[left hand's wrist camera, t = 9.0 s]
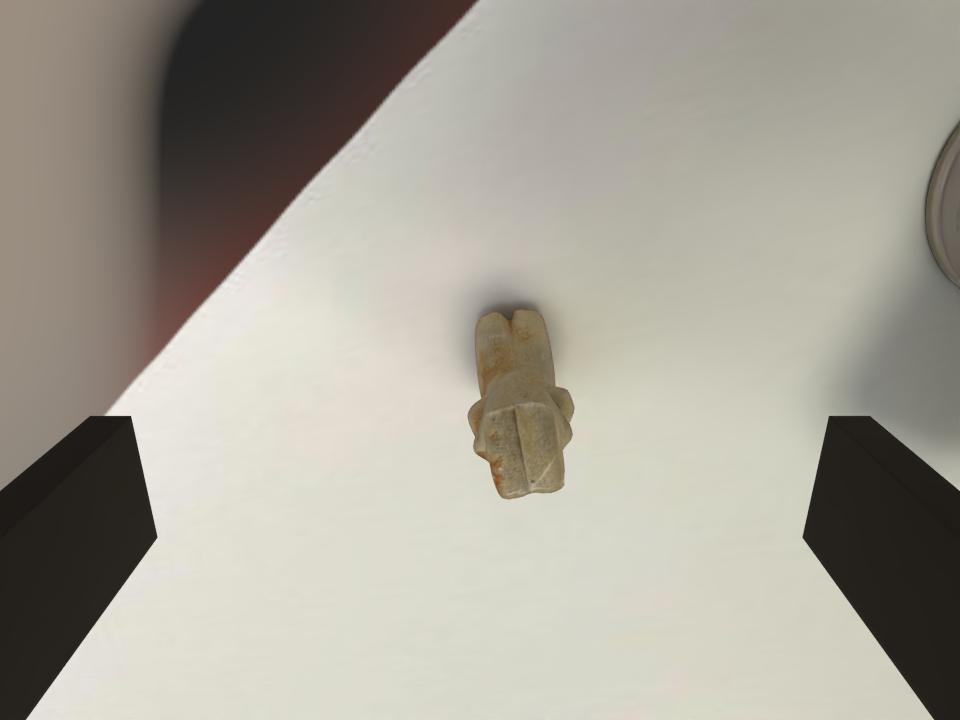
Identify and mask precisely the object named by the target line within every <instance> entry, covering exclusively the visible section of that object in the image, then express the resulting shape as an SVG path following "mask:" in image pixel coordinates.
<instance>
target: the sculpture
mask: <svg viewBox="0 0 960 720" xmlns="http://www.w3.org/2000/svg"><path fill="white" fill-rule="evenodd" d="M475 350H476V364H477V375H478V381H479V388H480V394H481V398H482V399H480V400H479V401H477V402H476V403H475V404H474V405H473V406H472V407H471V408H470V410H469V412H468V420H469V424H470V427H471V429H472V432H473V433H474V435H475V439H474V445H473V447H474V451H475V453H476V454H477V455H479V456H480V457H482V458H484V459H485V460H487V461H488V462H489V463H490V467H491V473H492V477H493V480H494V483H495V486H496V489H497V491H498V493H499V495H500V496H501V497H502V498H504V499H514V498H519V497H523V496H525V495H527V494H530V493H552V492H555V491H558V490H559V489H561V488H562V487H563V486H564V472H565V468H564V458H563V449H564V447H565V446H566V445H567V444H568V443H569V441H570V440H571V438H572V435H573V434H572V429H571V426H570V424H569V422H570V421H571V418H572V416H573V414H574V404H573V401H572V398H571V396H570V394H569V392H568V390H566V389H564V388H560V387H555V374H554V365H553V358H552V352H551V347H550V342H549V338H548V333H547V330H546V326H545V322H544V319H543V317H542V315H541V314H540V313H538V312H536V311H530V310H521V309H520V310H516V311H515V312H514V313H513V317H512V319H511V320H508V319H506V318H505V317H504V316H503V315H501V314H500V313H496V312H492V313H489V314H487V315H485V316H483V317H481V318H480V319H479V321H478V322H477V325H476V332H475Z"/></svg>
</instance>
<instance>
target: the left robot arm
mask: <svg viewBox="0 0 960 720" xmlns="http://www.w3.org/2000/svg"><path fill="white" fill-rule="evenodd" d="M926 227H927V235H928V239H929V244H930V247H931V250H932V253H933V255H934V257H935V259H936V261H937V263H938V265H939V266H940V268H941V269H942V271H943V272H944V274H945V275H946V276H947V277H948V278H949V279H950V280H951V281H952V282H953V283H954V284H955V285H956V286H957V287H959V288H960V125H959V126H958V127H957V129H956V130H955V132H954V133H953V135H952V136H951V138H950V139H949V141H948V143H947V145H946V146H945V148H944V150H943V152H942V154H941V156H940V158H939V160H938V163H937V165H936V168H935V170H934V173H933V176H932V180H931V183H930V187H929V192H928V197H927V205H926ZM156 539H157V533H156V528H155V524H154V519H153V515H152V510H151V505H150V501H149V496H148V492H147V487H146V483H145V478H144V473H143V469H142V464H141V460H140V455H139V451H138V446H137V441H136V437H135V432H134V428H133V423H132V419H131V416H90V417H88V418H87V419H86V420H85V421H84V422H82V423H81V424H80V425H79V426H78V427H77V428H75V429H74V430H73V431H72V432H70V433H69V434H68V435H67V436H66V437H65V438H63V439H62V440H61V441H60V442H59V443H57V444H56V445H55V446H54V447H53V448H51V449H50V450H49V451H48V452H47V453H45V454H44V455H43V456H42V457H41V458H39V459H38V460H37V461H36V462H35V463H33V464H32V465H31V466H30V467H29V468H27V469H26V470H25V471H24V472H23V473H21V474H20V475H19V476H18V477H17V478H15V479H14V480H13V481H12V482H11V483H9V484H8V485H7V486H6V487H5V488H3V489H2V490H1V491H0V720H26V719H27V717H28V716H29V715H30V713H31V712H32V710H33V709H34V708H35V706H36V705H37V704H38V702H39V701H40V699H41V698H42V697H43V695H44V694H45V692H46V691H47V690H48V688H49V687H50V686H51V684H52V683H53V681H54V680H55V679H56V677H57V676H58V674H59V673H60V672H61V670H62V669H63V668H64V666H65V665H66V663H67V662H68V661H69V659H70V658H71V656H72V655H73V654H74V652H75V651H76V650H77V648H78V647H79V645H80V644H81V643H82V641H83V640H84V638H85V637H86V636H87V634H88V633H89V632H90V630H91V629H92V627H93V626H94V625H95V623H96V622H97V620H98V619H99V618H100V616H101V615H102V614H103V612H104V611H105V609H106V608H107V607H108V605H109V604H110V602H111V601H112V600H113V598H114V597H115V596H116V594H117V593H118V591H119V590H120V589H121V587H122V586H123V584H124V583H125V582H126V580H127V579H128V578H129V576H130V575H131V573H132V572H133V571H134V569H135V568H136V567H137V565H138V564H139V562H140V561H141V560H142V558H143V557H144V555H145V554H146V553H147V551H148V550H149V549H150V547H151V546H152V544H153V543H154V542H155V540H156ZM803 539H804V540H805V542H806V543H807V544H808V546H809V547H810V549H811V550H812V551H813V553H814V554H815V555H816V557H817V558H818V560H819V561H820V562H821V564H822V565H823V567H824V568H825V569H826V571H827V572H828V573H829V575H830V576H831V578H832V579H833V580H834V582H835V583H836V584H837V586H838V587H839V589H840V590H841V591H842V593H843V594H844V596H845V597H846V598H847V600H848V601H849V602H850V604H851V605H852V607H853V608H854V609H855V611H856V612H857V614H858V615H859V616H860V618H861V619H862V620H863V622H864V623H865V625H866V626H867V627H868V629H869V630H870V632H871V633H872V634H873V636H874V637H875V638H876V640H877V641H878V643H879V644H880V645H881V647H882V648H883V650H884V651H885V652H886V654H887V655H888V656H889V658H890V659H891V661H892V662H893V663H894V665H895V666H896V668H897V669H898V670H899V672H900V673H901V674H902V676H903V677H904V679H905V680H906V681H907V683H908V684H909V686H910V687H911V688H912V690H913V691H914V692H915V694H916V695H917V697H918V698H919V699H920V701H921V702H922V704H923V705H924V706H925V708H926V709H927V710H928V712H929V713H930V715H931V716H932V717H933V719H934V720H960V491H959V490H958V489H957V488H955V487H954V486H953V485H952V484H951V483H949V482H948V481H947V480H946V479H945V478H943V477H942V476H941V475H940V474H939V473H937V472H936V471H935V470H934V469H933V468H931V467H930V466H929V465H928V464H927V463H925V462H924V461H923V460H922V459H921V458H919V457H918V456H917V455H916V454H915V453H913V452H912V451H911V450H910V449H909V448H907V447H906V446H905V445H904V444H903V443H901V442H900V441H899V440H898V439H897V438H896V437H894V436H893V435H892V434H891V433H890V432H888V431H887V430H886V429H885V428H884V427H882V426H881V425H880V424H879V423H878V422H876V421H875V420H874V419H873V418H872V417H870V416H829V419H828V423H827V428H826V432H825V437H824V441H823V446H822V451H821V455H820V460H819V464H818V469H817V473H816V478H815V483H814V487H813V492H812V496H811V501H810V505H809V510H808V515H807V519H806V524H805V528H804V533H803Z"/></svg>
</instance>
